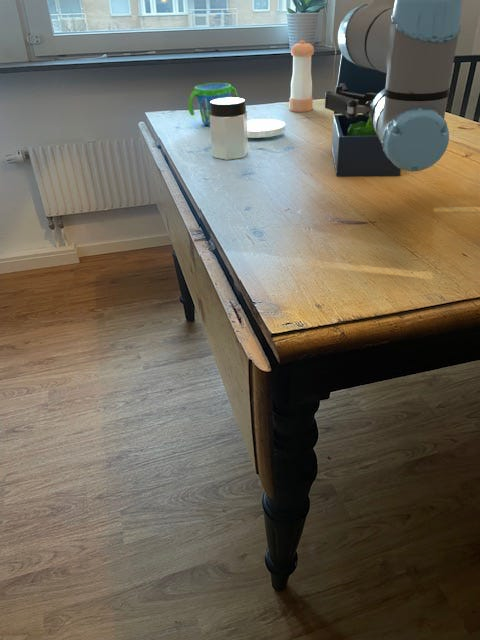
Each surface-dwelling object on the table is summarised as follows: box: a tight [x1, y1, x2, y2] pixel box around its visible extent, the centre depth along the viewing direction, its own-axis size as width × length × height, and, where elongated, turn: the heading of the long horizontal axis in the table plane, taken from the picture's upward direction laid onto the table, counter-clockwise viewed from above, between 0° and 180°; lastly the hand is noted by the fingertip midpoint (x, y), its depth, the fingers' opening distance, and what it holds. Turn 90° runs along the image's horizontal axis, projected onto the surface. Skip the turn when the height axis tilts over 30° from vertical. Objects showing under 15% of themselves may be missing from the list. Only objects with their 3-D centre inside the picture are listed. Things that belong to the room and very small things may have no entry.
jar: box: [209, 97, 249, 161], centre depth 116 cm, size 9×8×12 cm
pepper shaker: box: [288, 39, 315, 113], centre depth 153 cm, size 7×7×19 cm
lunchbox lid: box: [333, 52, 387, 115], centre depth 105 cm, size 21×13×5 cm
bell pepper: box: [348, 117, 377, 136], centre depth 104 cm, size 8×8×10 cm
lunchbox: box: [331, 113, 402, 177], centre depth 109 cm, size 20×13×8 cm, turn 174°
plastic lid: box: [247, 118, 286, 139], centre depth 133 cm, size 14×14×2 cm
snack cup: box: [187, 82, 239, 127], centre depth 144 cm, size 16×10×10 cm
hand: (380, 89), depth 91 cm, fingers open, 13 cm apart
